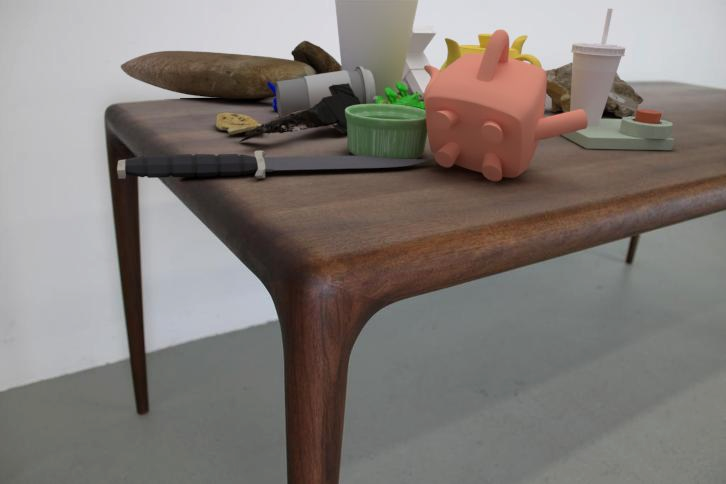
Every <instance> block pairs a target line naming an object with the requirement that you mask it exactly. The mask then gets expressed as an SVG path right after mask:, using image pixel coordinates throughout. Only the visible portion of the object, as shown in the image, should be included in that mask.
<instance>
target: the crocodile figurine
mask: <svg viewBox="0 0 726 484" xmlns="http://www.w3.org/2000/svg"><path fill="white" fill-rule="evenodd" d="M396 88H397V89H398V90H399V93H396V92H395V91H394V90H393V89H391V88H389V87H387V88H385V95H386V97H387V99H388V101H387V100H386V99H385V98H383V97H381V96H375V97H373V101H374V104H391V105H402V106H409V107H415V108H419V109H423V110H425V105H424V101H420V100H419V99H418V98H419V96H420V97H422V95H421V94H420V93H418V92H416V93H415V94H410V95H407V93H406V92H407V91H408V89H407V87H406V86H405V85H404V84H403V83H400V82H397V84H396ZM400 93H402V94H400Z"/></svg>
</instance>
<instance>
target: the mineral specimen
mask: <svg viewBox="0 0 726 484" xmlns="http://www.w3.org/2000/svg"><path fill="white" fill-rule="evenodd" d="M572 65H573V61H572V62H569V63H568V64H567V63H566V64H564V65H562V66H559V67H557V68H552V69H547V70H545V71H546V75H547V85H546V96H548V97H549V98H550V99H551V112H553V113H556V112H557V111H562V113H566V112H570V102H571V84H572ZM643 102H644V98H642V96H640V94H638V93H637V92H635V89H634V88H633V87H632V86H631V85H630V84H629V83H627V82H626V81H625V80H623V79H621V77H620V76H619V74H618V71H617V72H616V75H615V78H614V81H613V84H612V87H611V90H610V93H609V96H608V99H607V102H606V105H605V108H604V111H603V113H607V112H612V113H614V116H616V117H617V118H623V117H629V115H634V114H636V112H637V110H638V108H639V105H641V104H642V103H643Z"/></svg>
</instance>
